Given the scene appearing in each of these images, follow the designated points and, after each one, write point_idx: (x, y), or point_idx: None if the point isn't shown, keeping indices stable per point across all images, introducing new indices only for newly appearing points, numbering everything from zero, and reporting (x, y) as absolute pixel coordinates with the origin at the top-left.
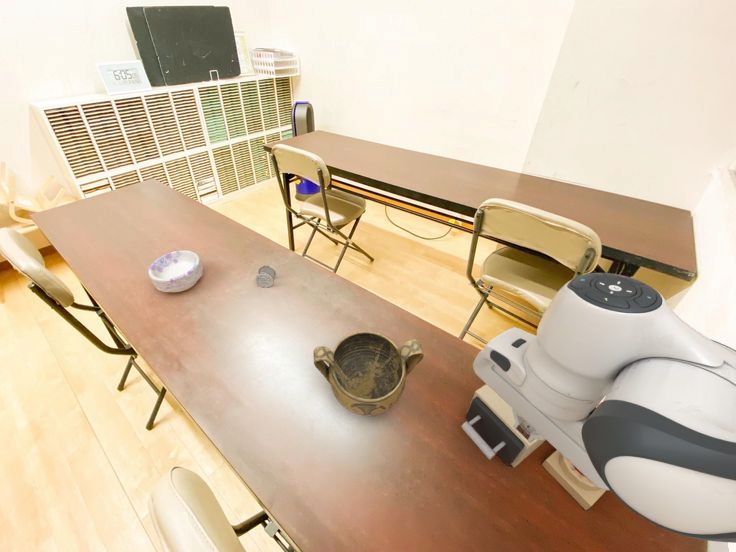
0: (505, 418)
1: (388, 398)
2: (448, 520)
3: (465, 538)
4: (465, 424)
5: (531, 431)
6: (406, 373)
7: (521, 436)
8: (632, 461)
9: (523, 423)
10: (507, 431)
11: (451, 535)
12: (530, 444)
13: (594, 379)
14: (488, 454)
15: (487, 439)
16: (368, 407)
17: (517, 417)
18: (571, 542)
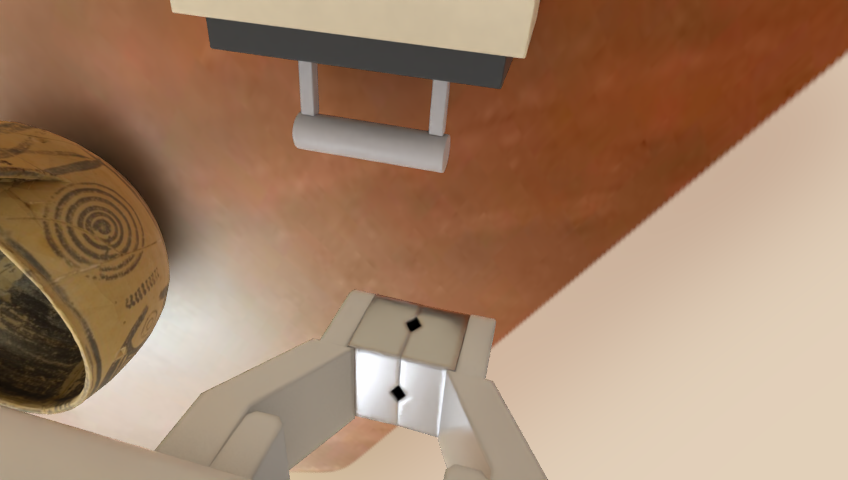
0: (357, 20)
1: (97, 339)
2: (477, 298)
3: (529, 300)
4: (299, 142)
5: (434, 414)
6: (28, 178)
7: (466, 46)
8: None
9: (363, 392)
10: (410, 59)
11: (501, 316)
12: (521, 45)
13: None
14: (429, 170)
15: None
16: (118, 369)
17: (294, 463)
18: (799, 83)
